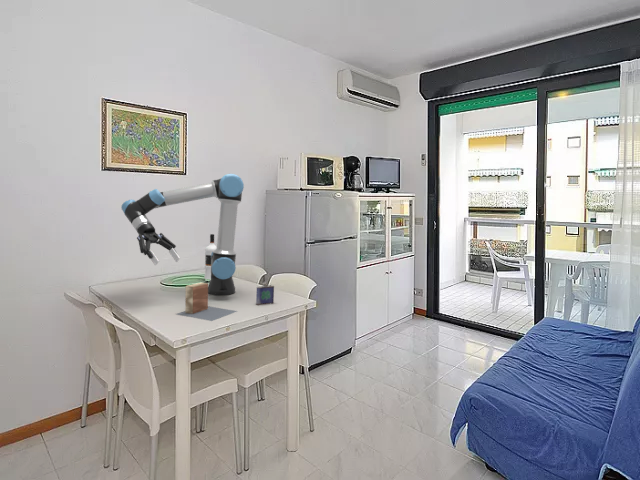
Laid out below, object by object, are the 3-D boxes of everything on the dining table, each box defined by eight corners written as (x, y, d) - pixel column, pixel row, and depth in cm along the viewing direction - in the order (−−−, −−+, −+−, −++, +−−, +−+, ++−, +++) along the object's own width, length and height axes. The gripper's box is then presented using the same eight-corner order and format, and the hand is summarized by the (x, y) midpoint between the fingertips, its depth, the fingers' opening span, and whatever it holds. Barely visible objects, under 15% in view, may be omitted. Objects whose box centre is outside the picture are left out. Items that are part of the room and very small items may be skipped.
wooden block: (185, 312, 175) (185, 286, 174) (200, 307, 184) (201, 282, 183) (192, 314, 174) (193, 287, 173) (208, 308, 183) (208, 283, 182)
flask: (257, 305, 195) (257, 283, 194) (255, 303, 197) (255, 282, 196) (274, 303, 199) (274, 282, 198) (272, 302, 202) (272, 281, 201)
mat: (175, 315, 172) (175, 314, 172) (203, 306, 189) (203, 305, 189) (211, 322, 164) (211, 320, 164) (237, 312, 181) (237, 311, 181)
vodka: (215, 283, 245) (216, 235, 243) (201, 282, 246) (201, 234, 244) (221, 280, 254) (222, 234, 252) (207, 279, 256) (208, 233, 253)
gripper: (159, 231, 202) (182, 263, 197) (117, 233, 179) (142, 270, 174) (167, 221, 199) (190, 253, 194) (126, 222, 177) (151, 259, 172)
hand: (167, 261), depth 184 cm, fingers open, 12 cm apart
